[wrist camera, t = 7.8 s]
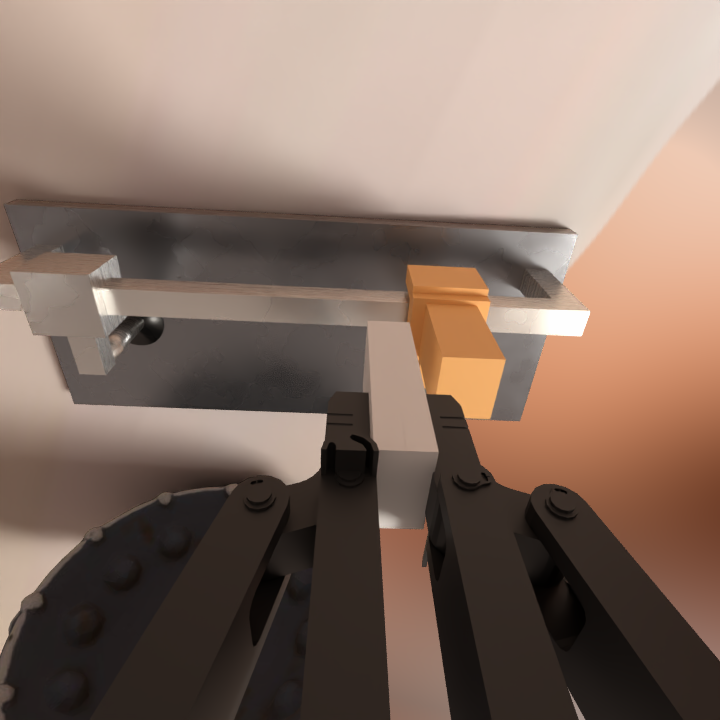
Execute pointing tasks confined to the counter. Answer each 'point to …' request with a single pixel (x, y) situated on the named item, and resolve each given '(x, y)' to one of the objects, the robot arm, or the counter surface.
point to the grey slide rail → (227, 303)
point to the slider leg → (454, 336)
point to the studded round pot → (134, 616)
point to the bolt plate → (283, 268)
